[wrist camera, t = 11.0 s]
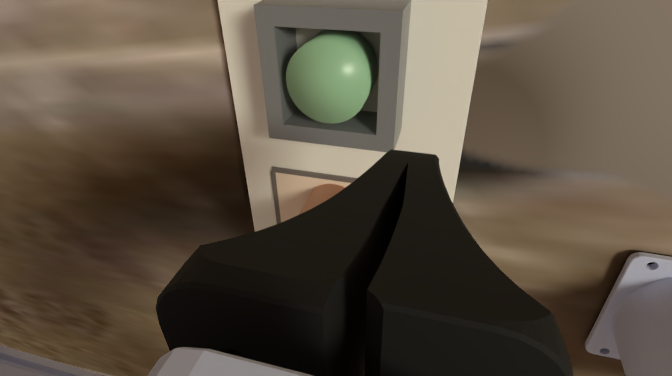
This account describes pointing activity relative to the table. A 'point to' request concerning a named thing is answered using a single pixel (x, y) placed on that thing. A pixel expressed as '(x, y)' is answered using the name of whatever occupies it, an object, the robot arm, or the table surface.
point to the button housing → (334, 14)
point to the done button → (332, 75)
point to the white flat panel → (349, 163)
